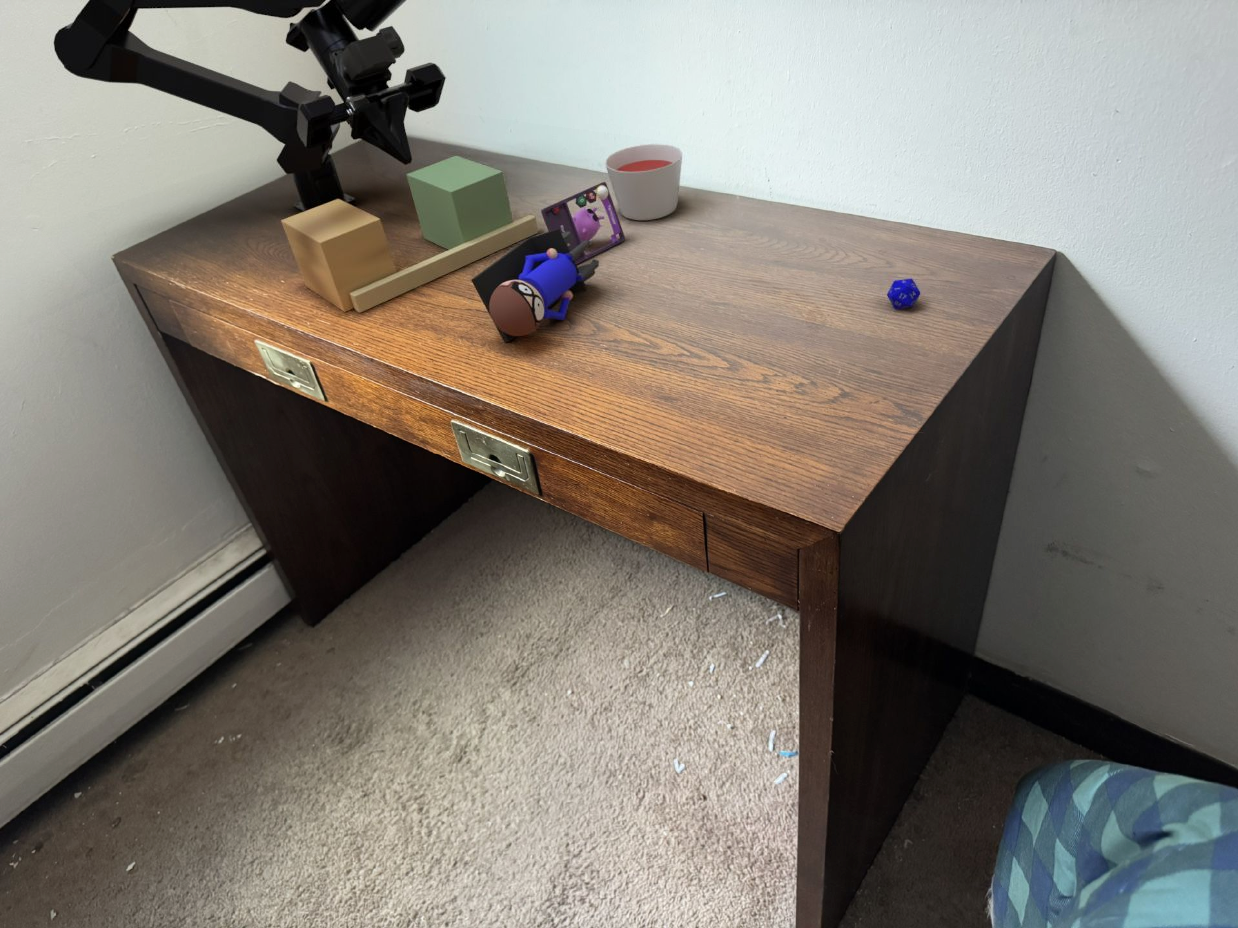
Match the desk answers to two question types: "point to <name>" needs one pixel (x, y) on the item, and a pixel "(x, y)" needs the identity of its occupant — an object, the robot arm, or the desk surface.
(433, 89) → the robot arm
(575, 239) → the game card
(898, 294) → the die
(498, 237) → the straightedge
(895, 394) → the desk surface
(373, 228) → the maple block
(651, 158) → the candle
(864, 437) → the desk surface
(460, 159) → the green block
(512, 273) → the character figurine
